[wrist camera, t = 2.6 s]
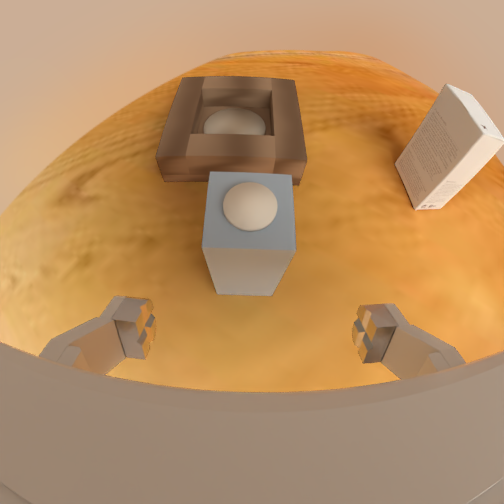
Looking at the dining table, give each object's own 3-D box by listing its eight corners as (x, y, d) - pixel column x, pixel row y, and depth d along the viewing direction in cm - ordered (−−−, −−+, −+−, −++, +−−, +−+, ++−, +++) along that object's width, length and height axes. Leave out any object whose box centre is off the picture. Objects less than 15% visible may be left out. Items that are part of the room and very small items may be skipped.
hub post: (216, 294, 20) (200, 244, 11) (219, 243, 21) (209, 168, 13) (271, 296, 20) (297, 247, 11) (271, 245, 21) (292, 171, 13)
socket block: (164, 181, 23) (155, 156, 20) (186, 101, 28) (182, 77, 24) (298, 185, 24) (307, 160, 20) (289, 103, 28) (294, 80, 25)
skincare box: (440, 210, 24) (508, 143, 13) (413, 211, 24) (484, 134, 12) (420, 164, 26) (472, 93, 15) (392, 162, 26) (444, 81, 15)
